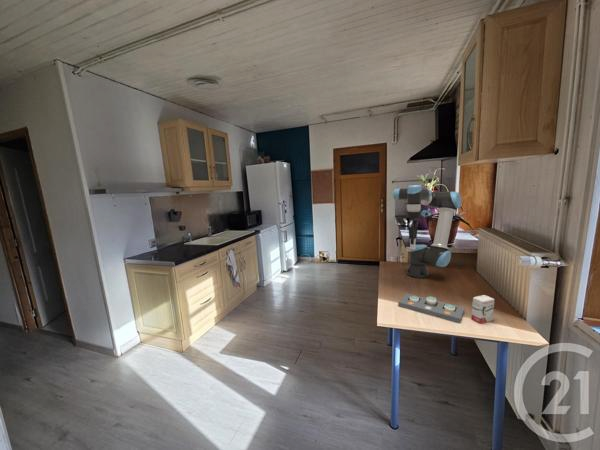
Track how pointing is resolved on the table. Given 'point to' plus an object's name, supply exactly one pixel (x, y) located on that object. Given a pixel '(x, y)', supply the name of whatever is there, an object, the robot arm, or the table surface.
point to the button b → (431, 301)
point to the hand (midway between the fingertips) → (412, 248)
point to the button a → (414, 298)
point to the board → (432, 308)
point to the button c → (450, 307)
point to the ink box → (482, 309)
